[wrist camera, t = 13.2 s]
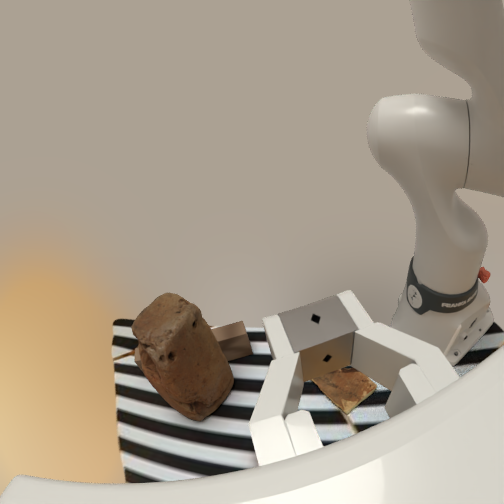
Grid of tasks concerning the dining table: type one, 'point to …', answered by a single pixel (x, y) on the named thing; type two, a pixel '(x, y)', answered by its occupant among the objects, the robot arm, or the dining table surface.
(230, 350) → the board
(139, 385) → the dining table surface
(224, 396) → the weathered terracotta carving
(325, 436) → the dining table surface
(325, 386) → the brown flat angular piece
